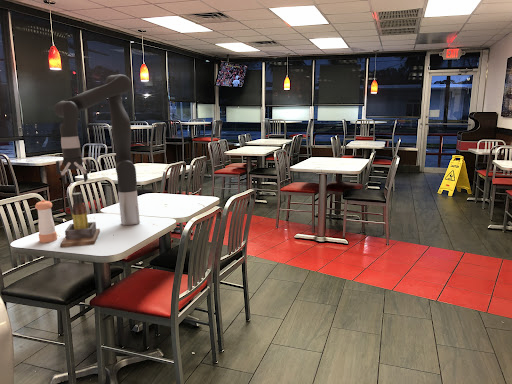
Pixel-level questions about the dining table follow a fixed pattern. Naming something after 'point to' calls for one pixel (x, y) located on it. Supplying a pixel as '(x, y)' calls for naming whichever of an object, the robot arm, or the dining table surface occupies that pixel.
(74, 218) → the sauce bottle
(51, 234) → the pepper shaker
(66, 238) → the stone serving dish
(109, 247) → the dining table surface
